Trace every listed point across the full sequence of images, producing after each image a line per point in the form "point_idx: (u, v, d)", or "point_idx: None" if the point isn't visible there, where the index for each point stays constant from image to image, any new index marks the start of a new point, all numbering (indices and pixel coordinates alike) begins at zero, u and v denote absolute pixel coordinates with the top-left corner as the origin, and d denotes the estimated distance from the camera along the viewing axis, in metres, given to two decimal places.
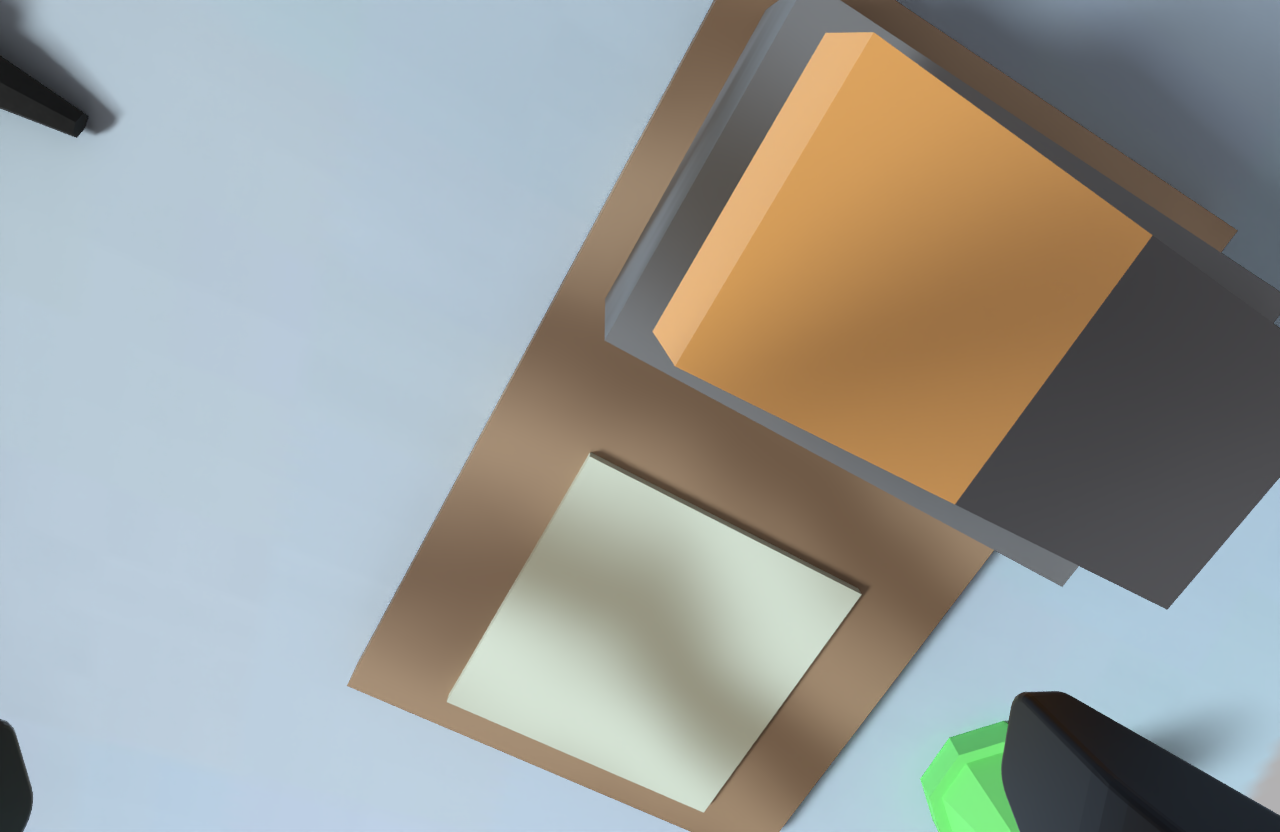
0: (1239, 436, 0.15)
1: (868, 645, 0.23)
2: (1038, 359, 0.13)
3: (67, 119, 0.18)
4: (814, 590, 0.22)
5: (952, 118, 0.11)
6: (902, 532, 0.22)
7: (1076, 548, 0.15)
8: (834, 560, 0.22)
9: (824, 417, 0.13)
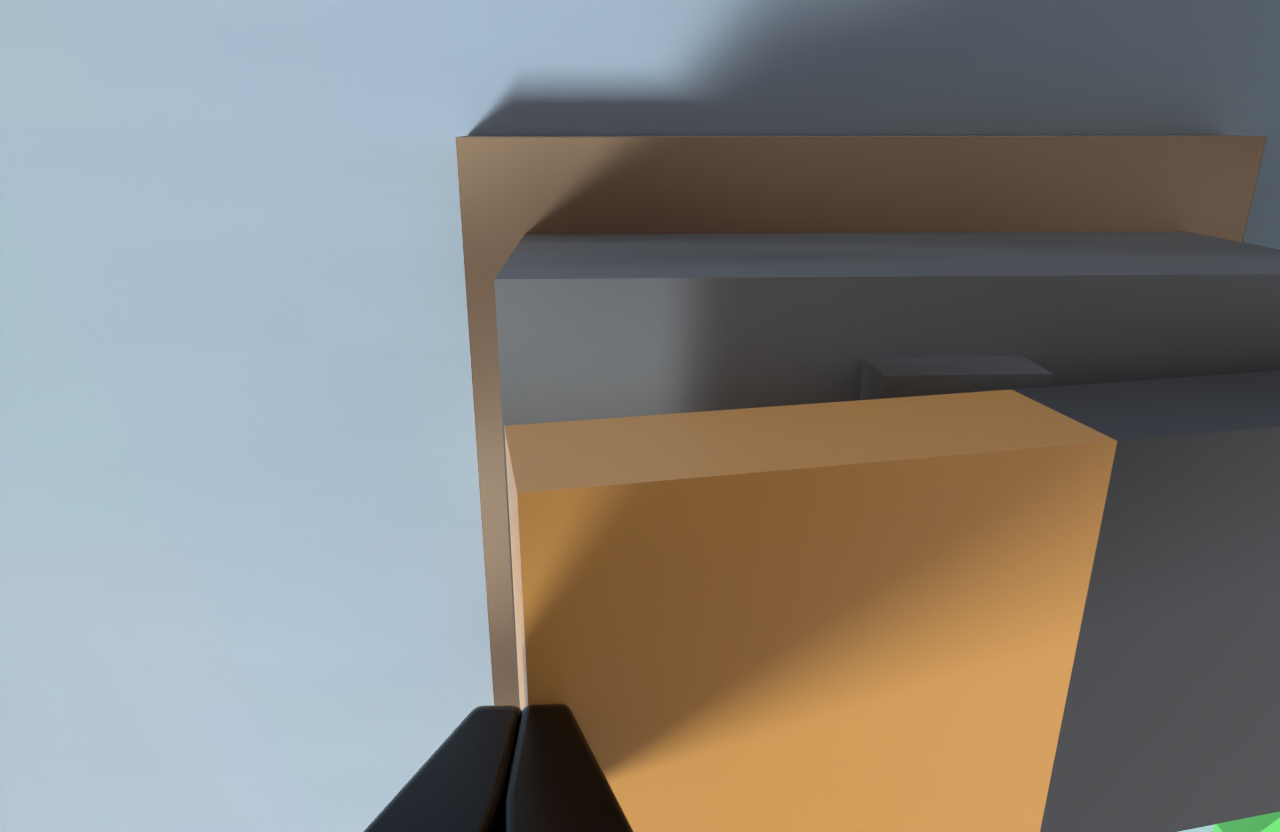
0: None
1: None
2: (1042, 662, 0.09)
3: None
4: None
5: (710, 507, 0.07)
6: None
7: (1245, 801, 0.10)
8: None
9: None
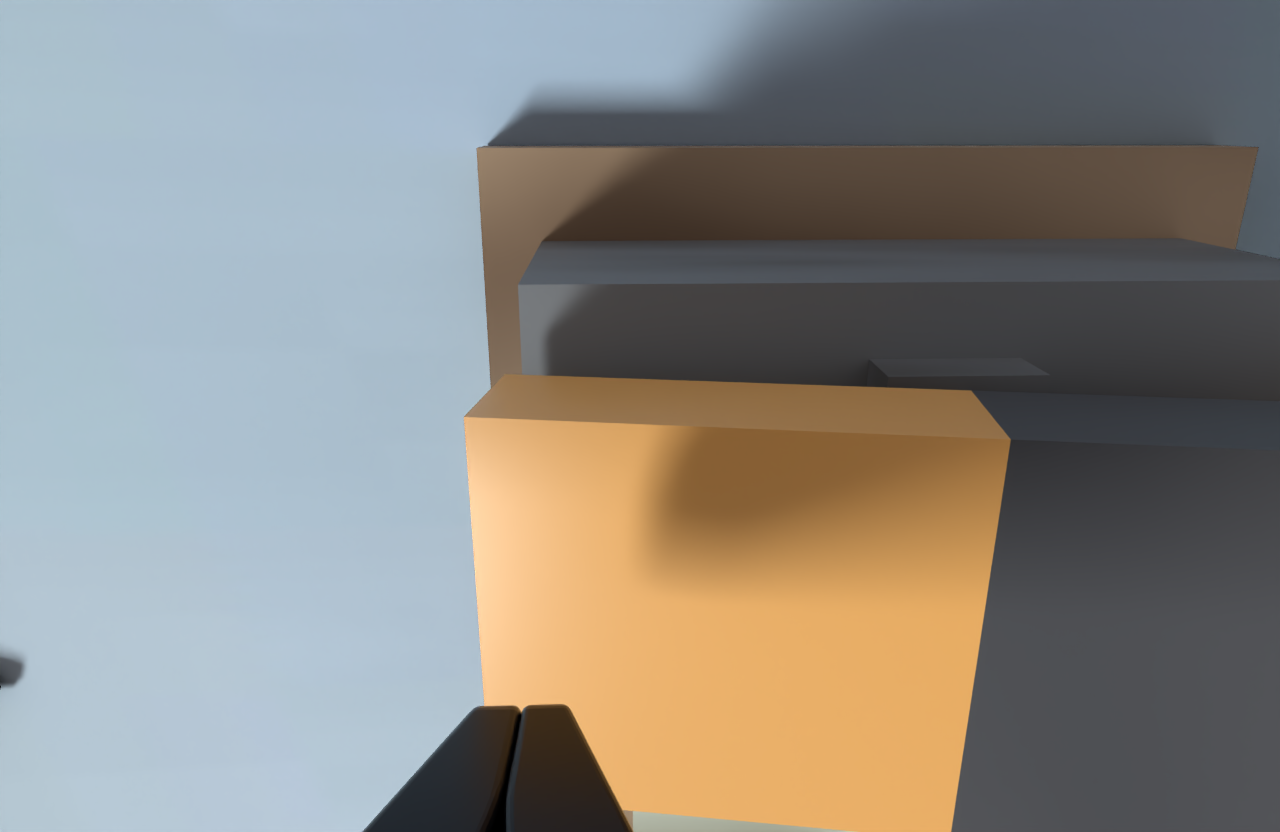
0: None
1: None
2: (944, 644, 0.09)
3: None
4: None
5: (615, 449, 0.09)
6: None
7: None
8: None
9: (694, 795, 0.10)
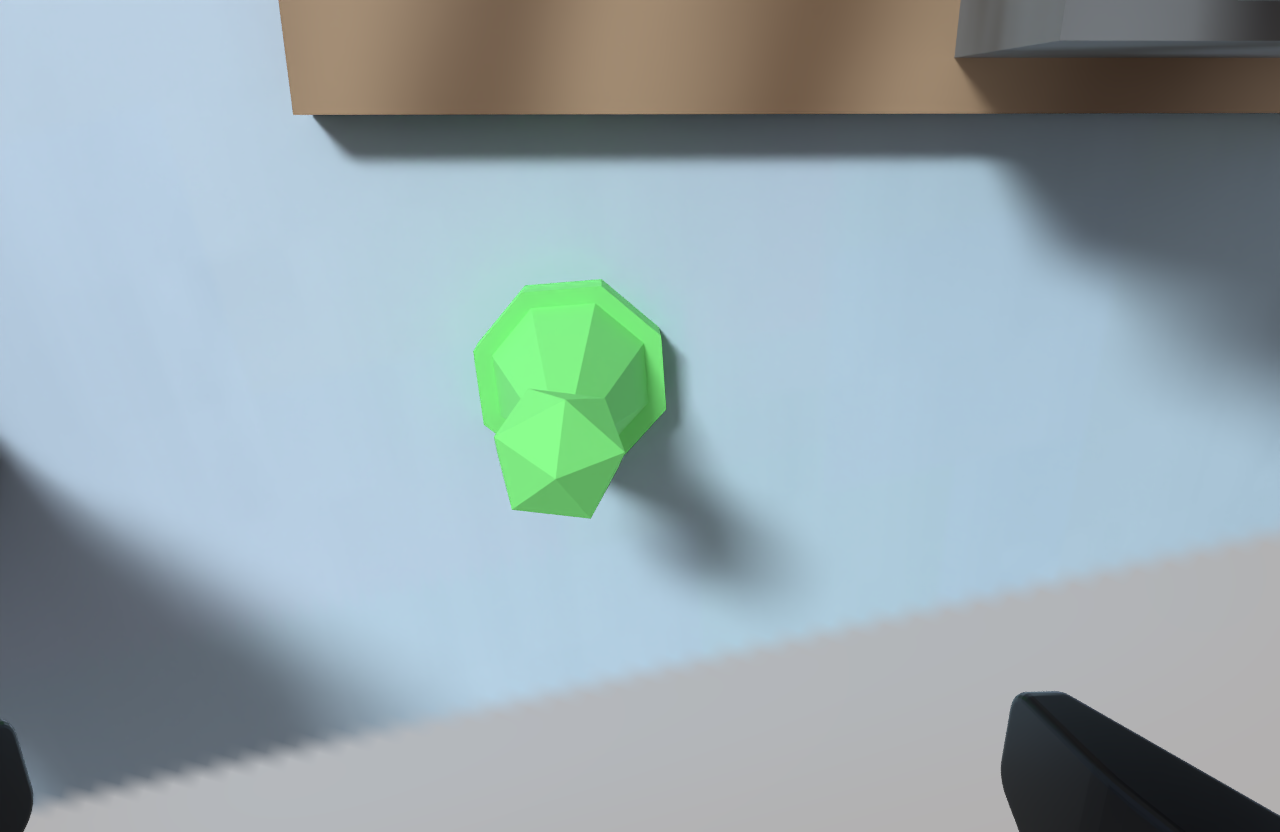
0: None
1: (702, 41, 0.16)
2: None
3: None
4: None
5: None
6: None
7: None
8: None
9: None
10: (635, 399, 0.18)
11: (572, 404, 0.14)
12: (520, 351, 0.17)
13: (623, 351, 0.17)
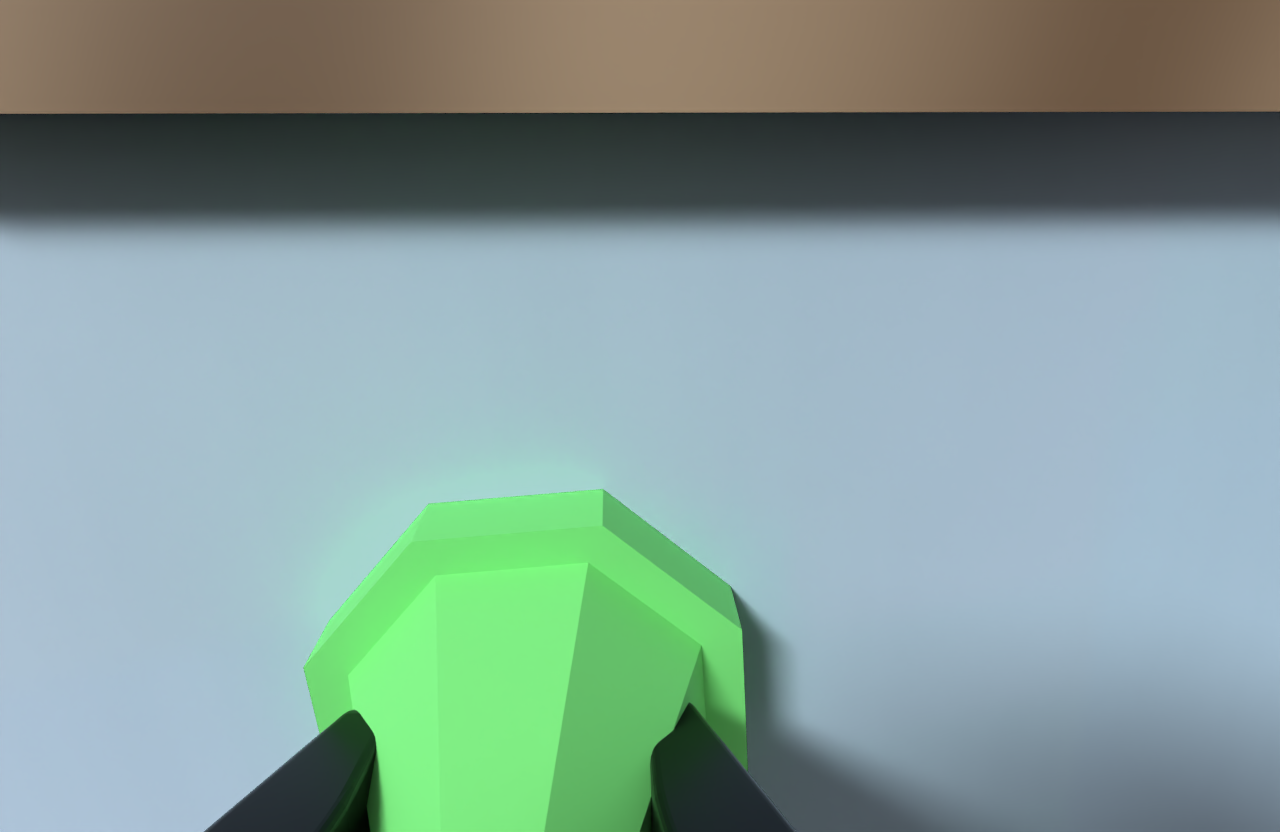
0: None
1: None
2: None
3: None
4: None
5: None
6: None
7: None
8: None
9: None
10: None
11: None
12: (401, 707, 0.07)
13: (657, 697, 0.07)
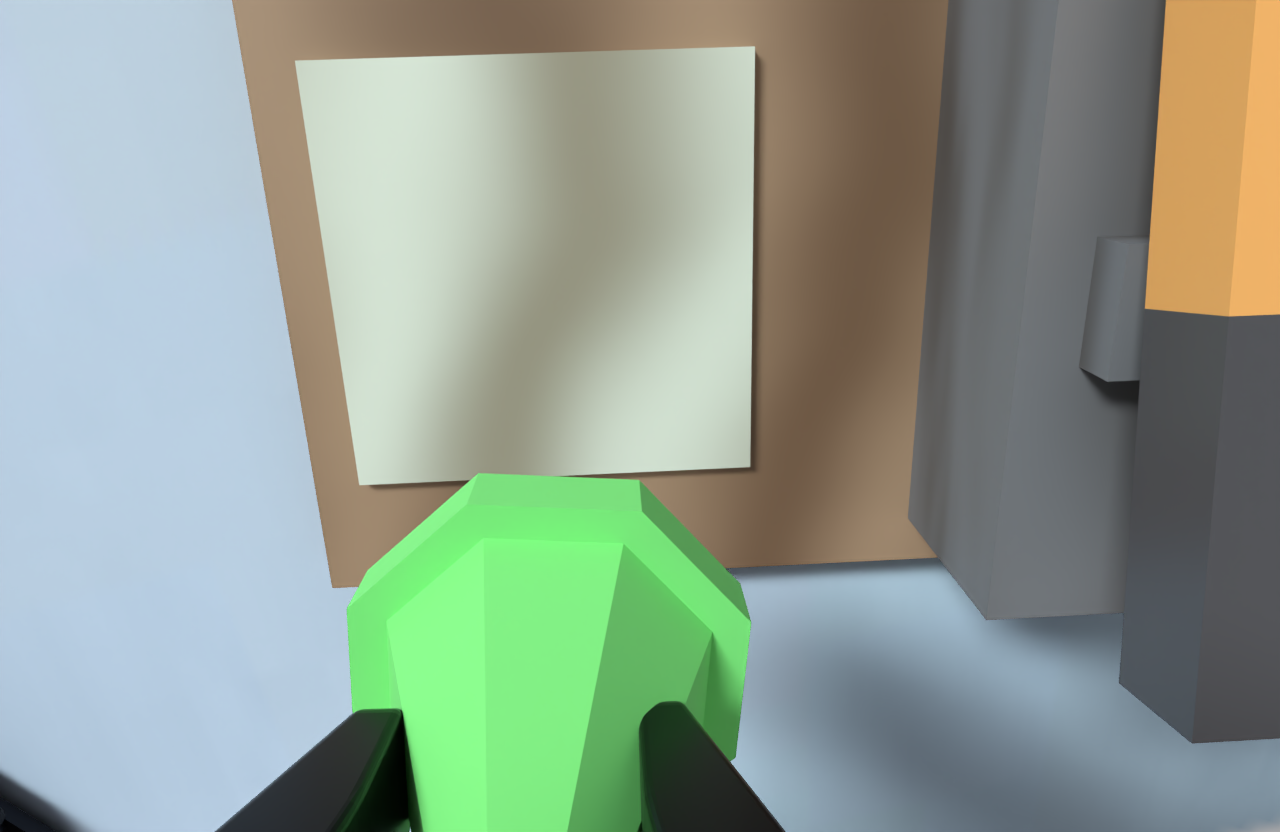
0: None
1: (686, 517, 0.18)
2: None
3: None
4: (727, 415, 0.17)
5: None
6: (837, 461, 0.18)
7: (1229, 537, 0.11)
8: (766, 415, 0.18)
9: (1279, 46, 0.10)
10: None
11: None
12: (445, 650, 0.08)
13: (674, 670, 0.08)
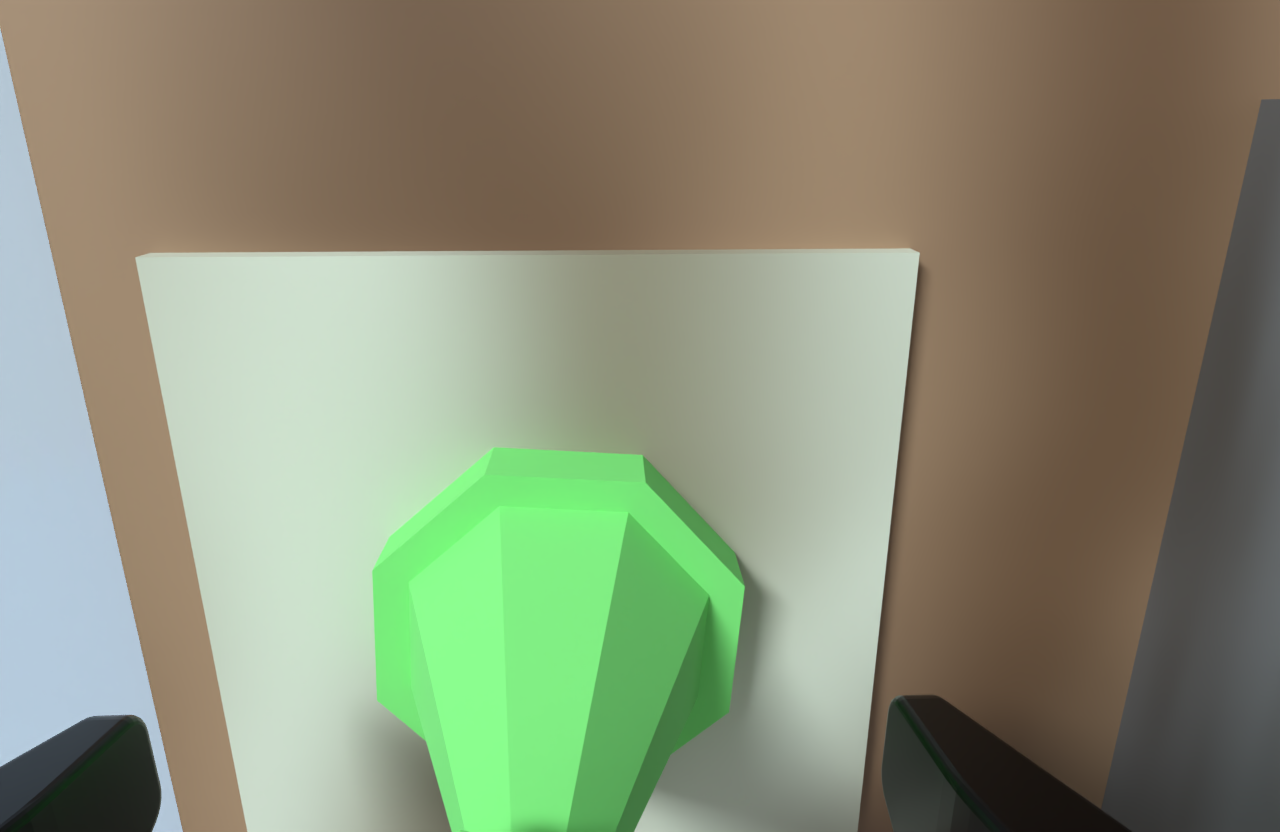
0: None
1: None
2: None
3: None
4: (826, 781, 0.11)
5: None
6: None
7: None
8: None
9: None
10: (682, 715, 0.09)
11: None
12: (465, 607, 0.08)
13: (674, 627, 0.09)
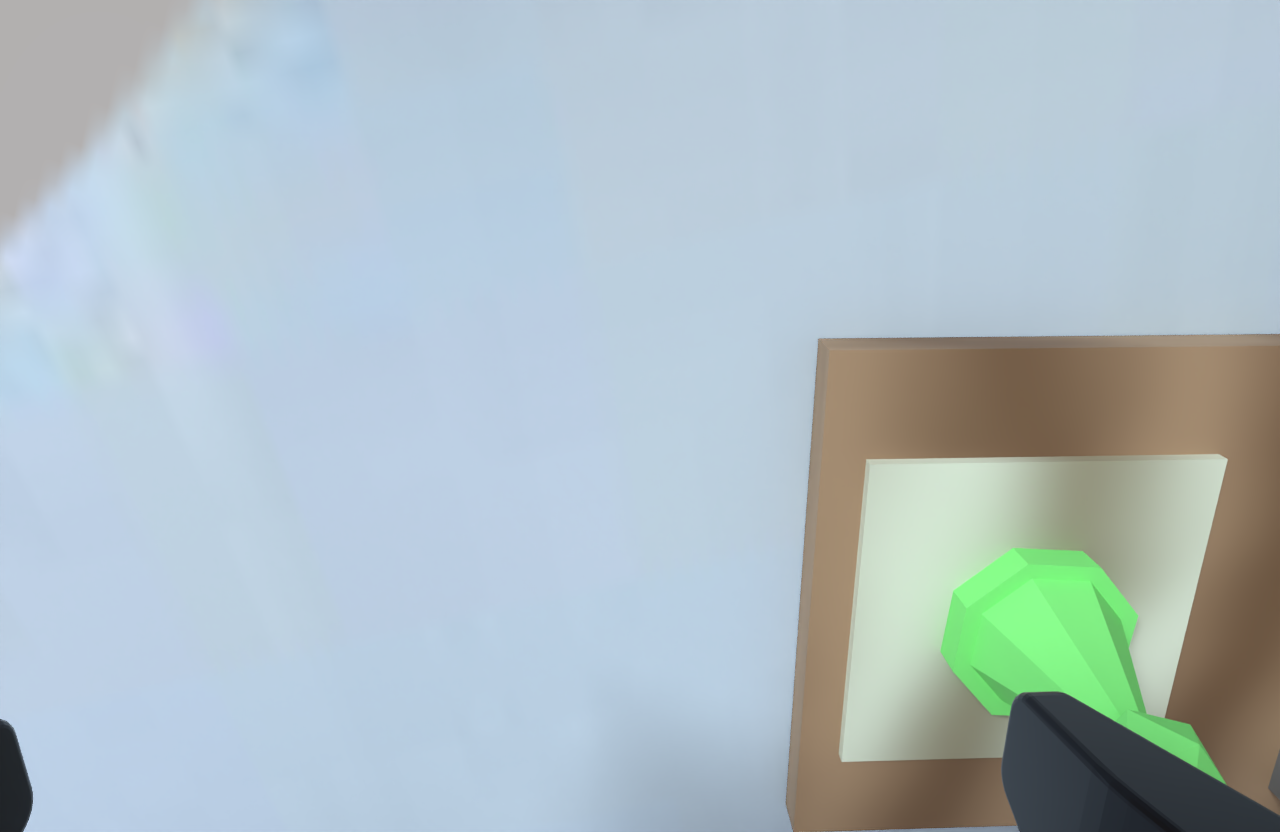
0: None
1: None
2: None
3: None
4: None
5: None
6: (1220, 745, 0.22)
7: None
8: (1171, 711, 0.22)
9: None
10: None
11: (1202, 748, 0.15)
12: (1034, 626, 0.18)
13: (1121, 635, 0.19)
